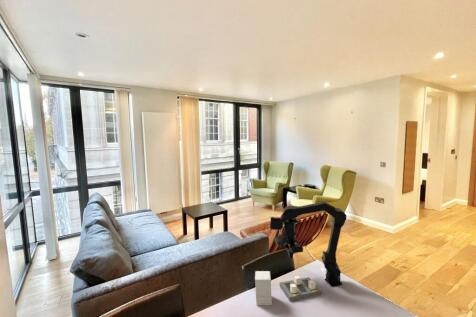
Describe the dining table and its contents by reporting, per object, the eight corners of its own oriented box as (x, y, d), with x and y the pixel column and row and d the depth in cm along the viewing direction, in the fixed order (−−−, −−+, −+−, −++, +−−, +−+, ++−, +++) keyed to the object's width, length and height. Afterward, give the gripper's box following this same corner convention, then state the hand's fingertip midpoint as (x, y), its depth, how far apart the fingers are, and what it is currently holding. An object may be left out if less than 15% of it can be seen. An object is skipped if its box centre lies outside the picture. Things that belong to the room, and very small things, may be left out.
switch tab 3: (312, 286, 116) (312, 279, 116) (315, 288, 114) (315, 282, 114) (308, 286, 116) (308, 280, 115) (311, 289, 113) (310, 283, 113)
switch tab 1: (294, 289, 114) (294, 283, 114) (296, 292, 112) (296, 286, 111) (290, 290, 113) (289, 284, 113) (292, 293, 111) (292, 287, 111)
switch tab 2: (298, 281, 120) (298, 275, 120) (300, 284, 118) (300, 278, 118) (294, 282, 120) (294, 276, 120) (296, 285, 118) (296, 278, 117)
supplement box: (271, 295, 114) (270, 270, 113) (271, 306, 106) (271, 279, 106) (256, 295, 114) (255, 270, 114) (255, 305, 107) (254, 279, 106)
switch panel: (308, 280, 124) (308, 276, 124) (321, 294, 113) (321, 290, 113) (279, 286, 121) (279, 282, 121) (289, 301, 109) (289, 297, 109)
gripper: (269, 226, 132) (270, 252, 133) (282, 238, 114) (283, 269, 115) (287, 223, 135) (288, 249, 135) (303, 235, 116) (304, 265, 117)
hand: (290, 258), depth 126 cm, fingers closed
